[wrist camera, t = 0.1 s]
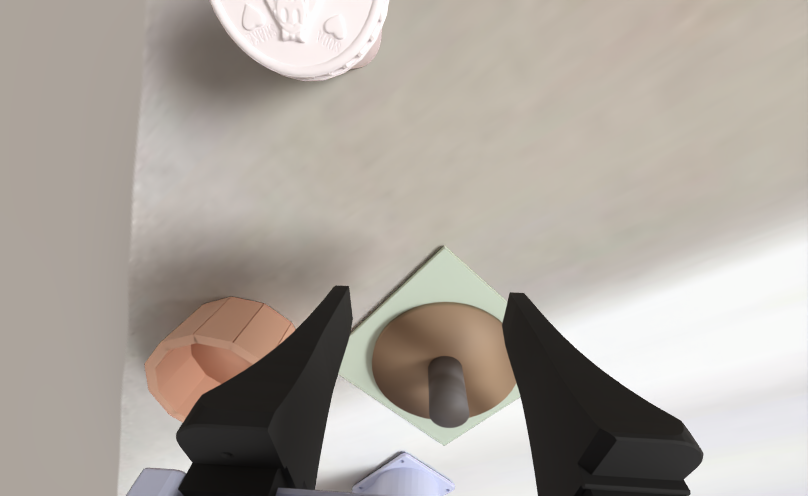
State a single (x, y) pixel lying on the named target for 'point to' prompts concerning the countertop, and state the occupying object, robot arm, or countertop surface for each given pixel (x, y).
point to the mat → (428, 285)
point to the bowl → (212, 350)
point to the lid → (443, 362)
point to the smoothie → (305, 33)
